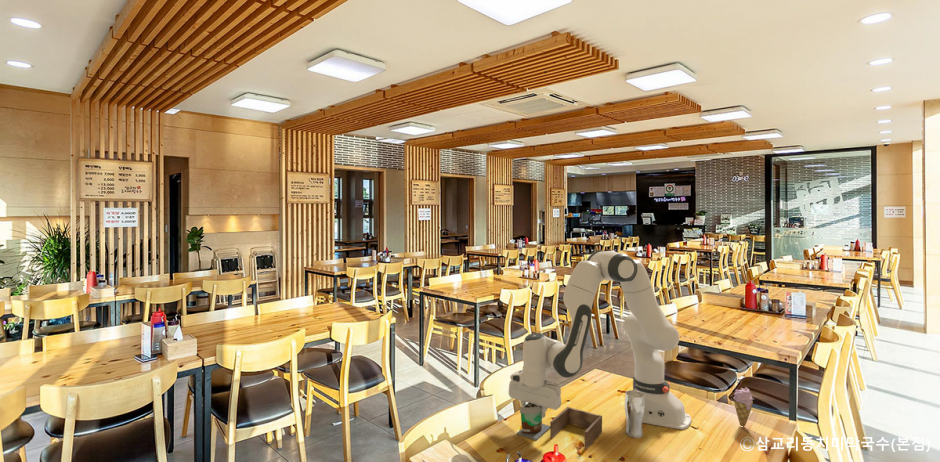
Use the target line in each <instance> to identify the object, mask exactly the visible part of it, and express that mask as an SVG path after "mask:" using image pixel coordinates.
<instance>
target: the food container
mask: <svg viewBox="0 0 940 462" xmlns="http://www.w3.org/2000/svg"><path fill="white" fill-rule="evenodd" d="M543 410H544V409H542V406H539V405H535V404H532V403H528V402H527V403H526V406H525V407H523V406H520V409H519V414H520V421H521V423H520V424H521V429H522V433H525V434H535V433H538V432H540V431H541V429H542V424H543V418H542V417H540V413H541V412H542V411H543Z"/></svg>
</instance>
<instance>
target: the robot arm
mask: <svg viewBox="0 0 940 462" xmlns="http://www.w3.org/2000/svg"><path fill="white" fill-rule="evenodd" d="M604 280H606V281H612V282H616V283H620V287H621V290H622V293H623V297H624V300H625V303H626V307H627V309H628V310H629V312H630V313H631V314H629V315H627V317H625V319H624V321H623V326H622V327H623V328H622V329H623V331H624V333H625V334H626V335H627V337H628V339H629V341H630V342H629V343H630V345H631V350H632V353H633V354H632V355H633V358H634V359H633V360H634V376H633V380H632V390H635V391H640V392H642V393H643V394H644V395H645V396H644V397H645V412H644V417H643V422H642V424H648V425H649V424H650V425H653V426H659V427H665V428H670V429H677V430H685V429H688V427H690V426H691V424H692V416H691V415H690V414H689V413H686V411H685V410H686V409H685V406H684V403H683V401H681V400H680V399H679V398H678V397H677V396H675V394H673V392H671V391H670V385H671V383H670V381H669V382H667V381H666V380H665V360H664V359H663V357H662V355H661V354H660V352H659V351H665V352H668V351H669V352H670V351H672V350H674V349H675V348H677V346H678V344H679V342H680V332H679V331H678V329H677V328H676V327H675V326H674V325H673V324H672V323H671V322H670V320H668V318H667V316H666V315H665V313H664V312H663V310H662V309H661V307H660V305H659V303H658V301H657V298H656V295H655V292H654V290H653V286H652V282H651V279H650V276H649V273H648V271H647V269H646V268H645V266H644V264H643V263H642V261H640V260H638V259H633V258H632V257H631V256H629V255H628V254H626V253H620V252H618V251H612V250H611V251H608V250H607V251H606V250H597V251H596V250H595V251H594V252H592V253H591V254H590V255H589V256H588V257H587V258H586V260H581V261H579V262H578V263H577V264H576V265H575V267H574V269H573V271H572V273H571V274H570V276H569V278H568V280H567V283H566V286H565V288H564V292H563V295H562V297H563V298H562V300H563V304H564V306H565V308H566V309H567V311H568V313H569V315H570V318H571V323H570V324H571V325H570V328H569V332H568V336H567V339H566V343H563V342H562V341H561V340H557V339H554V338H550V337H548V336H546V335H545V334H544V333H542V332H532V333H529V334H528V335H526V336H525V337H524V339H523V345H522V362H523V365H522V369H519V370H517V371H514V372H513V373H512V374H510V377H509V378H510V381H509V384H508V396H509V398H510V399H514V400H518V401H520V404H521V407H525V406H526V405H527V404H528V403H532V404H535V405H539V406H542V409H544V410H543V411H542V412H541V413H540V417H542V419H545V417H546V412H547V411H548V409H551V410H554V411H557V410H558V409H560V408H561V406H562V398H561V394H562V391H561V390H562V388H561V386H560V385H559V384H558V383H556V382H552V381H549V380H547V377H548V376H547V374H548V371H547V369H548V368H552V369H553V370H554V371H556V373H558V375H559V376H560V377H562V378H566V379H567V378H572V377H575V376H576V375H577V374H578V373H579V372H580V371H581V369H582V367H583V361H584V360H583V359H584V356H583V355H584V348H585V345H586V341H587V339H588V338H587V337H588V333H589V330H590V325H591V322H592V315H593V313H592V312H593V311H592V308H593V303H594V299H595V297H596V294H597V291H598V289H599V285H600V283H602V282H603V281H604ZM689 425H690V426H689Z"/></svg>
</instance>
